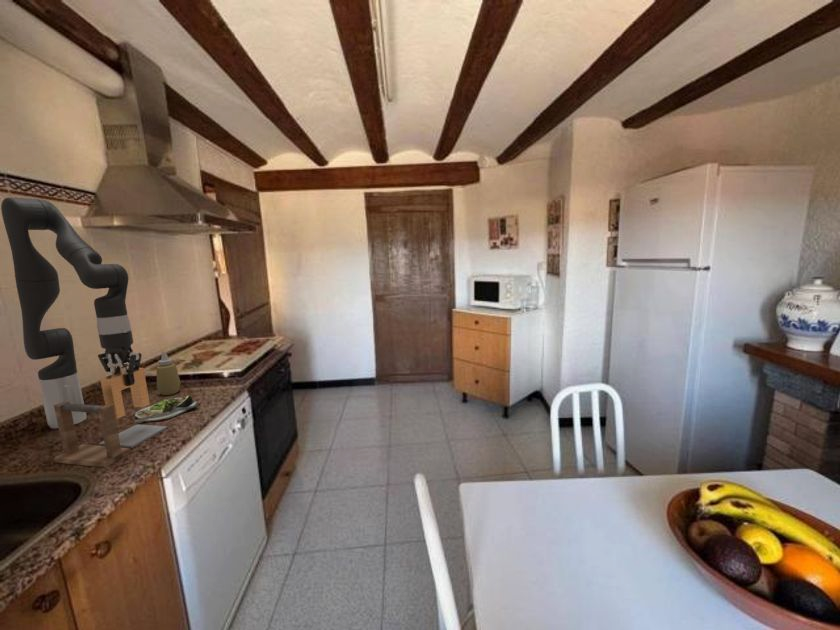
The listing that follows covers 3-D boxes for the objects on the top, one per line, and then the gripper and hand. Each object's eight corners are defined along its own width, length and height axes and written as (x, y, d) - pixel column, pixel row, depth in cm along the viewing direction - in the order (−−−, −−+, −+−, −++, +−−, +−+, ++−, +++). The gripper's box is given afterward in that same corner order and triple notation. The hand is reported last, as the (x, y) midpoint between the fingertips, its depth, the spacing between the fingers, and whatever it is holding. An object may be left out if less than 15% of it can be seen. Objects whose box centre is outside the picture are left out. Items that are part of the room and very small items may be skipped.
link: (107, 418, 105) (100, 378, 103) (141, 403, 115) (134, 367, 113) (117, 418, 104) (109, 379, 102) (149, 404, 114) (143, 367, 112)
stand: (55, 462, 97) (43, 408, 95) (83, 448, 104) (72, 398, 102) (105, 467, 94) (94, 412, 92) (130, 453, 101) (121, 401, 98)
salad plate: (149, 430, 115) (147, 417, 115) (119, 421, 123) (117, 408, 122) (206, 406, 133) (204, 395, 132) (176, 400, 140) (175, 389, 139)
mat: (99, 444, 106) (98, 443, 106) (137, 425, 118) (136, 424, 118) (132, 447, 104) (131, 445, 104) (167, 428, 116) (167, 426, 116)
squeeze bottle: (170, 397, 142) (163, 354, 139) (153, 396, 143) (146, 354, 140) (186, 389, 150) (180, 349, 147) (170, 389, 151) (163, 348, 148)
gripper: (82, 333, 103) (93, 388, 106) (121, 333, 100) (132, 390, 103) (108, 328, 110) (118, 380, 113) (146, 328, 107) (155, 381, 110)
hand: (125, 384), depth 108 cm, fingers closed on link, 3 cm apart
